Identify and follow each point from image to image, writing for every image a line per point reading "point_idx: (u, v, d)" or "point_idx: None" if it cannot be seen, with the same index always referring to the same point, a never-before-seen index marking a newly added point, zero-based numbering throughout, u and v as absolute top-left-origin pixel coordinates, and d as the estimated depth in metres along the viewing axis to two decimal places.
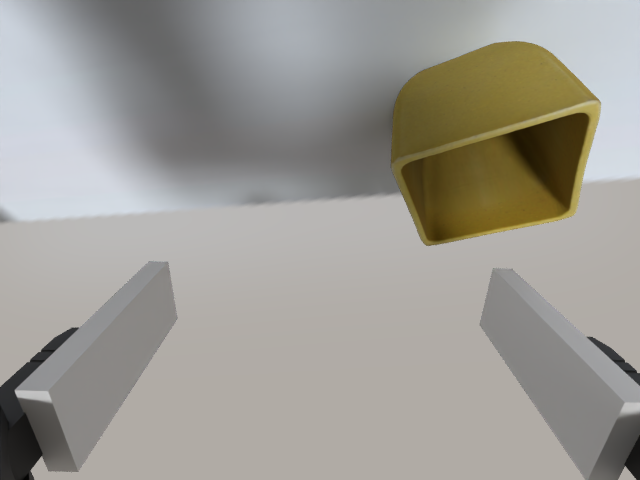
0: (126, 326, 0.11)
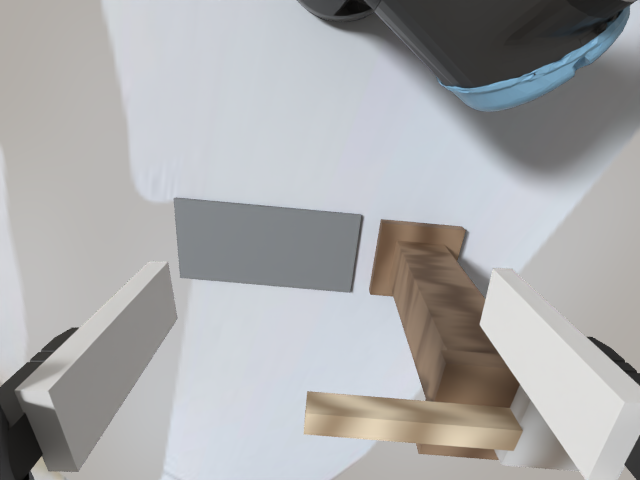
0: (126, 326, 0.11)
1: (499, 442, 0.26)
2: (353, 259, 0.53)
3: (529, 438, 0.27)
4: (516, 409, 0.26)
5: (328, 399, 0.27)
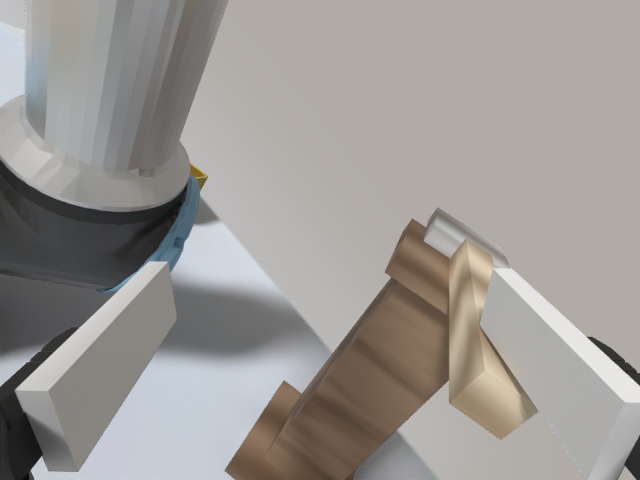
0: (126, 326, 0.11)
1: (483, 254, 0.25)
2: None
3: None
4: (448, 247, 0.27)
5: (458, 365, 0.14)
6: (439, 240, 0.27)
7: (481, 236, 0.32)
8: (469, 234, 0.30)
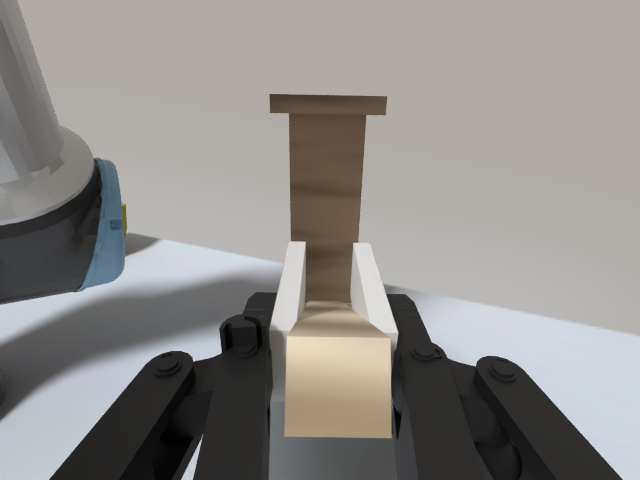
0: (301, 291, 0.13)
1: None
2: None
3: None
4: None
5: None
6: None
7: None
8: None
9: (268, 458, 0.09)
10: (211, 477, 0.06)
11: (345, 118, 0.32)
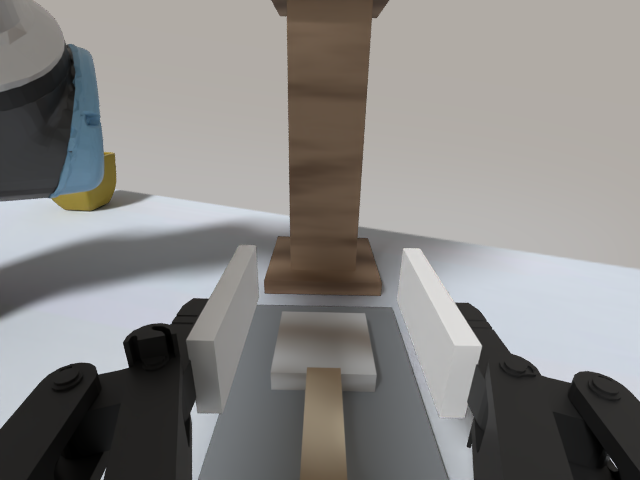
0: (240, 297, 0.13)
1: (328, 383, 0.21)
2: (329, 307, 0.33)
3: (326, 361, 0.24)
4: (297, 382, 0.23)
5: None
6: (285, 381, 0.23)
7: (338, 315, 0.29)
8: (321, 331, 0.27)
9: (189, 468, 0.08)
10: None
11: (349, 1, 0.28)
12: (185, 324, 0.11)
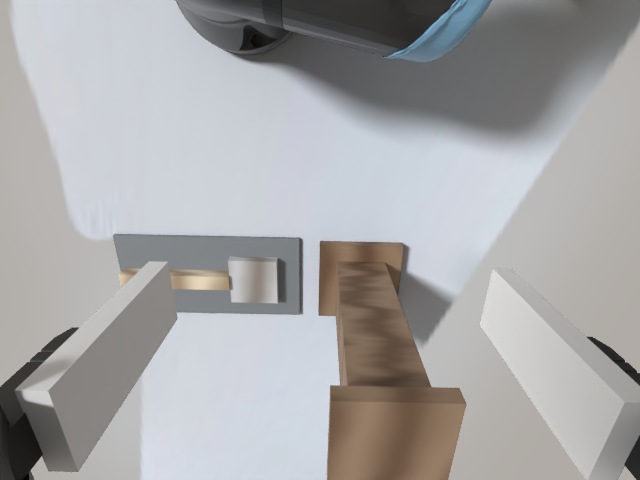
0: (126, 326, 0.11)
1: (220, 285, 0.51)
2: (297, 282, 0.53)
3: (237, 283, 0.51)
4: None
5: (134, 270, 0.52)
6: None
7: (274, 290, 0.52)
8: (259, 281, 0.51)
9: None
10: None
11: None
12: None
